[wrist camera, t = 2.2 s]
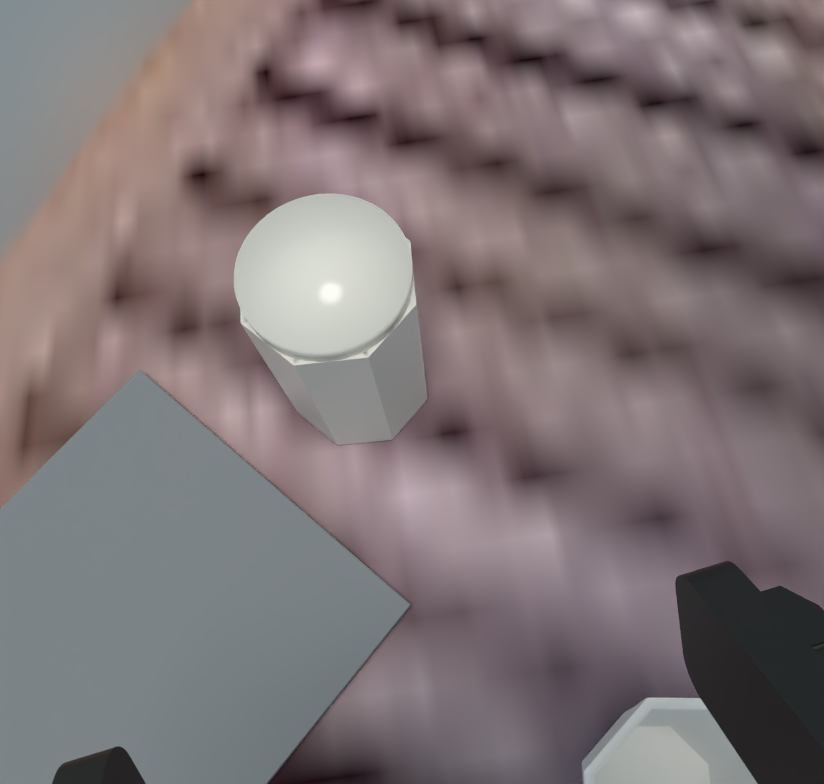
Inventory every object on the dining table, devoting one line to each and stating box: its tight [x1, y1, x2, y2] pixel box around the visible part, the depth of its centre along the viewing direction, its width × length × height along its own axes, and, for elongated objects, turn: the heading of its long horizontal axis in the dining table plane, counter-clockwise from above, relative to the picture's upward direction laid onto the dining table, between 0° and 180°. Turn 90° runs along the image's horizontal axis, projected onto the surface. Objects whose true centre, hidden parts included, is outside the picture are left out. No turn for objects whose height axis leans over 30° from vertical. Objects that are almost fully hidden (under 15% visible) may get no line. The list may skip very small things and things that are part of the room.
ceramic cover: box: [234, 194, 428, 445], centre depth 29 cm, size 6×6×10 cm
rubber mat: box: [0, 370, 411, 784], centre depth 30 cm, size 16×16×1 cm
